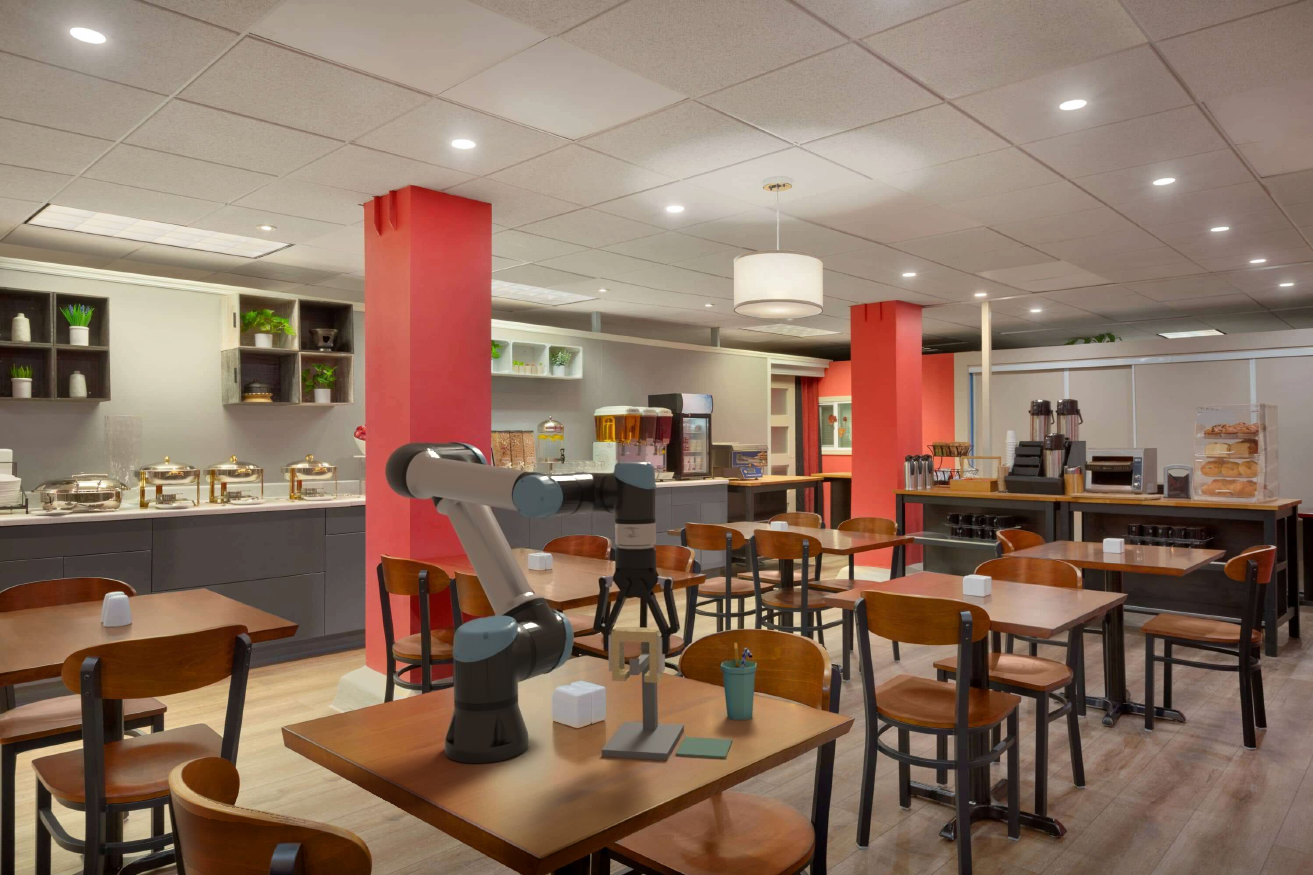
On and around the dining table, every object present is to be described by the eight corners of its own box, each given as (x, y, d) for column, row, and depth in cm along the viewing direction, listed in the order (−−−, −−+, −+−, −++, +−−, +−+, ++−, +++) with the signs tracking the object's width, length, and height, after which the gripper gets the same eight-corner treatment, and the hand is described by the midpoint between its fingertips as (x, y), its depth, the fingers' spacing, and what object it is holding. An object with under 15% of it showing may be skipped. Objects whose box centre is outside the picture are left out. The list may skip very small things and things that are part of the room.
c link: (612, 680, 150) (611, 630, 150) (617, 675, 154) (616, 626, 154) (657, 682, 148) (656, 632, 148) (661, 677, 152) (661, 628, 152)
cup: (771, 726, 162) (769, 649, 163) (733, 729, 161) (731, 652, 161) (748, 706, 176) (747, 635, 176) (713, 709, 174) (712, 637, 175)
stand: (601, 756, 148) (599, 654, 148) (624, 727, 163) (622, 636, 164) (667, 760, 145) (665, 657, 146) (684, 730, 161) (682, 637, 161)
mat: (675, 755, 147) (675, 753, 147) (684, 738, 156) (684, 736, 156) (725, 758, 146) (725, 756, 146) (732, 741, 154) (732, 739, 154)
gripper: (573, 547, 150) (575, 673, 150) (688, 549, 145) (690, 678, 145) (586, 543, 157) (587, 662, 157) (696, 544, 153) (697, 667, 152)
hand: (636, 670), depth 151 cm, fingers closed on c link, 8 cm apart
